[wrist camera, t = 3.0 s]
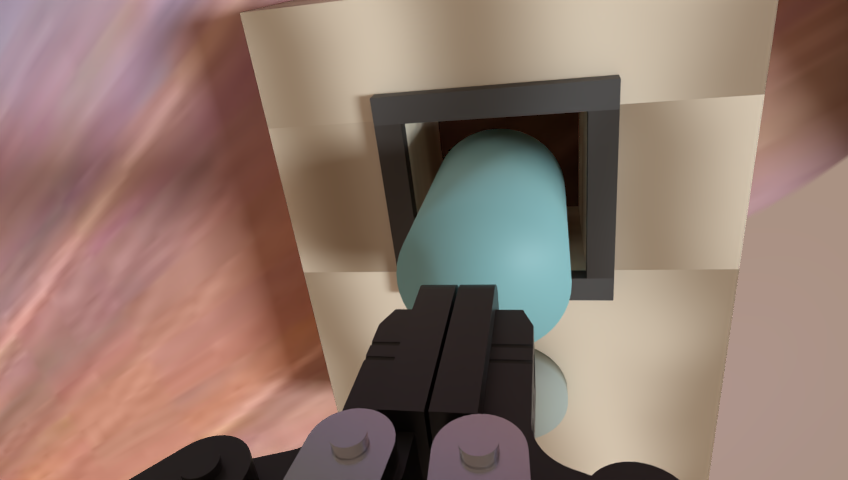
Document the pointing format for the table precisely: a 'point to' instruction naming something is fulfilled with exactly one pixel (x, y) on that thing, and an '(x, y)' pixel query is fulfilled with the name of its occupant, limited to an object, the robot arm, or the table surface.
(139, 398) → the table surface
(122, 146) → the table surface
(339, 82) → the socket board
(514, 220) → the light blue rounded piece
